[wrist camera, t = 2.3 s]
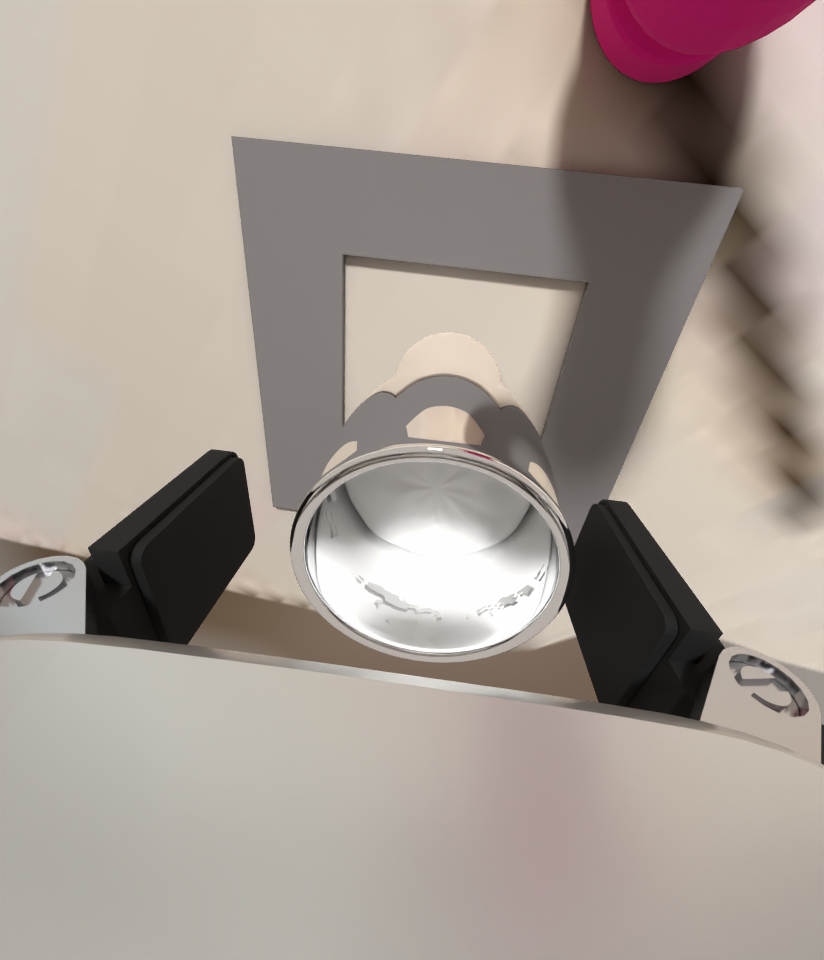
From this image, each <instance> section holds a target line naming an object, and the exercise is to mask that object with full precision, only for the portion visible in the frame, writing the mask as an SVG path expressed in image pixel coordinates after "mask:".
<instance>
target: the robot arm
mask: <svg viewBox="0 0 824 960" xmlns="http://www.w3.org/2000/svg"><path fill="white" fill-rule="evenodd" d="M254 542H255V532H254V526H253V519H252V513H251V506H250V499H249V493H248V486H247V480H246V473H245V467H244V462H243V460H242V459H241V458H238V456H237V454H236V453H234V452H229V451H222V450H210V451H208V452H207V453H206V454H204V455H203V456H202V457H201V458H199V459H198V460H197V461H196V462H194V463H193V464H192V465H191V466H189V467H188V468H187V469H186V470H184V471H183V472H182V473H181V474H179V475H178V476H177V477H176V478H174V479H173V480H172V481H171V482H169V483H168V484H167V485H166V486H164V487H163V488H162V489H161V490H159V491H158V492H157V493H156V494H154V495H153V496H152V497H151V498H149V499H148V500H147V501H146V502H145V503H143V504H142V505H141V506H140V507H138V508H137V509H136V510H135V511H133V512H132V513H131V514H130V515H128V516H127V517H126V518H125V519H123V520H122V521H121V522H120V523H118V524H117V525H116V526H115V527H113V528H112V529H111V530H110V531H108V532H107V533H106V534H105V535H103V536H102V537H101V538H100V539H98V540H97V541H96V542H95V543H93V544H92V545H91V546H90V547H88V549H89V551H90V554H91V556H90V557H89V558H88V559H86V560H85V561H84V562H82V561H81V560H80V559H78V558H75V557H70V556H52V557H47V558H42V559H38V560H35V561H31V562H29V563H26V564H23V565H21V566H18V567H16V568H14V569H12V570H10V571H8V572H7V573H5V574H4V575H2V576H0V960H824V725H822V724H821V712H820V708H819V704H818V702H817V701H816V699H815V697H814V696H813V694H812V693H811V691H810V690H809V689H808V688H807V687H806V686H805V685H804V684H803V682H801V680H800V679H799V678H798V677H796V676H795V675H794V674H793V673H791V672H790V671H789V670H788V669H787V668H785V667H784V666H782V665H781V664H779V663H778V662H776V661H774V660H773V659H771V658H769V657H767V656H765V655H763V654H761V653H759V652H757V651H754V650H750V649H747V648H743V647H729V648H726V649H725V648H724V646H723V645H722V643H721V642H720V640H719V638H720V636H721V635H722V634H723V633H722V631H721V630H720V629H719V627H718V626H717V625H716V623H715V622H714V620H713V619H712V618H711V616H710V615H709V614H708V612H707V611H706V610H705V608H704V607H703V605H702V604H701V603H700V601H699V600H698V599H697V597H696V596H695V594H694V593H693V592H692V590H691V589H690V588H689V586H688V585H687V583H686V582H685V581H684V579H683V578H682V577H681V575H680V574H679V573H678V571H677V570H676V568H675V567H674V566H673V564H672V563H671V562H670V560H669V559H668V557H667V556H666V555H665V553H664V552H663V551H662V549H661V548H660V546H659V545H658V544H657V542H656V541H655V540H654V538H653V537H652V536H651V534H650V533H649V531H648V530H647V529H646V527H645V526H644V525H643V523H642V522H641V520H640V519H639V518H638V516H637V515H636V514H635V512H634V511H633V509H632V508H631V507H630V505H629V504H628V503H627V502H622V501H614V500H606V499H603V500H601V501H600V502H599V503H598V504H593V505H592V506H591V508H590V510H589V512H588V515H587V517H586V519H585V522H584V524H583V526H582V529H581V531H580V534H579V536H578V538H577V541H576V543H575V546H574V547H575V555H576V569H575V577H574V582H573V585H572V588H571V591H570V594H569V596H568V598H567V600H566V602H565V604H566V607H567V610H568V613H569V615H570V618H571V621H572V624H573V627H574V630H575V633H576V636H577V639H578V642H579V645H580V648H581V651H582V654H583V657H584V660H585V663H586V666H587V669H588V672H589V675H590V678H591V681H592V684H593V687H594V690H595V693H596V696H597V699H598V702H599V703H597V702H591V701H584V700H578V699H571V698H565V697H557V696H550V695H544V694H537V693H530V692H523V691H516V690H509V689H503V688H495V687H489V686H482V685H475V684H468V683H462V682H454V681H447V680H440V679H433V678H426V677H419V676H412V675H404V674H398V673H391V672H383V671H376V670H369V669H362V668H355V667H348V666H340V665H333V664H326V663H318V662H312V661H304V660H297V659H289V658H282V657H275V656H267V655H260V654H252V653H245V652H237V651H230V650H222V649H215V648H207V647H200V646H193V645H187V644H188V643H189V641H190V640H191V639H192V637H193V636H194V634H195V632H196V631H197V630H198V628H199V627H200V625H201V624H202V622H203V621H204V619H205V618H206V616H207V615H208V613H209V612H210V610H211V609H212V608H213V606H214V605H215V603H216V602H217V600H218V599H219V597H220V596H221V594H222V593H223V591H224V590H225V588H226V587H227V585H228V584H229V582H230V581H231V579H232V578H233V577H234V575H235V574H236V572H237V571H238V569H239V568H240V566H241V565H242V563H243V562H244V560H245V559H246V557H247V556H248V554H249V553H250V551H251V550H252V548H253V546H254Z"/></svg>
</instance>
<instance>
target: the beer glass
mask: <svg viewBox="0 0 824 960" xmlns="http://www.w3.org/2000/svg"><path fill="white" fill-rule="evenodd" d="M290 556H291V562H292V567H293V570H294V573H295V576H296V579H297V581H298V583H299V586H300V588H301V589H302V591H303V593H304V595H305V596H306V598H307V599H308V600H309V602H310V603H311V605H312V606H313V607H314V608H315V609H316V610H317V612H318V613H319V614H320V615H321V616H322V617H323V618H324V619H325V620H327V621H328V622H329V623H330V624H331V625H332V626H334V627H335V628H336V629H338V630H339V631H340V632H342V633H343V634H345V635H346V636H348V637H350V638H351V639H353V640H355V641H357V642H359V643H361V644H363V645H365V646H367V647H370V648H372V649H374V650H377V651H379V652H382V653H385V654H388V655H392V656H395V657H400V658H404V659H409V660H415V661H423V662H434V663H435V662H436V663H453V662H465V661H472V660H478V659H483V658H487V657H491V656H494V655H497V654H500V653H503V652H506V651H508V650H511V649H513V648H515V647H517V646H519V645H521V644H523V643H525V642H526V641H528V640H530V639H531V638H533V637H534V636H536V635H537V634H538V633H539V632H541V631H542V630H543V629H544V628H545V627H546V626H547V625H548V624H549V623H550V622H551V621H552V620H553V619H554V618H555V617H556V616H557V614H558V613H559V612H560V610H561V609H562V607H563V605H564V604H565V602H566V600H567V598H568V596H569V594H570V591H571V588H572V585H573V582H574V577H575V569H576V555H575V547H574V542H573V538H572V535H571V532H570V530H569V527H568V525H567V523H566V521H565V517H564V513H563V509H562V505H561V501H560V496H559V493H558V489H557V485H556V482H555V478H554V475H553V471H552V468H551V465H550V462H549V459H548V457H547V454H546V451H545V448H544V446H543V443H542V441H541V439H540V436H539V434H538V433H537V431H536V429H535V427H534V425H533V423H532V422H531V420H530V418H529V416H528V414H527V413H526V411H525V410H524V408H523V407H522V406H521V404H520V403H519V402H518V401H517V400H516V399H515V398H514V397H513V395H512V394H511V393H510V392H509V391H508V390H507V389H506V388H505V387H504V386H503V385H502V384H501V376H500V371H499V368H498V365H497V363H496V361H495V359H494V357H493V356H492V354H491V353H490V352H489V350H488V349H487V348H486V347H485V346H484V345H483V344H482V343H480V342H479V341H477V340H476V339H474V338H472V337H470V336H468V335H465V334H461V333H456V332H440V333H435V334H432V335H429V336H426V337H424V338H422V339H420V340H419V341H417V342H416V343H414V344H413V345H412V346H411V347H410V348H409V349H408V350H407V351H406V352H405V354H404V355H403V356H402V358H401V360H400V362H399V364H398V366H397V369H396V372H395V375H394V376H392V377H391V378H389V379H388V380H387V381H385V382H384V383H382V384H381V385H380V386H378V387H377V388H376V389H375V390H373V391H372V392H371V393H370V394H369V395H368V396H367V397H366V398H365V399H364V400H363V401H362V403H361V404H360V405H359V406H358V407H357V409H356V410H355V411H354V412H353V413H352V415H351V416H350V417H349V419H348V420H347V421H346V423H345V424H344V426H343V428H342V429H341V431H340V433H339V434H338V436H337V437H336V439H335V441H334V442H333V444H332V446H331V448H330V450H329V452H328V454H327V456H326V458H325V460H324V462H323V464H322V466H321V468H320V470H319V472H318V474H317V476H316V478H315V481H314V483H313V485H312V487H311V489H310V491H309V493H308V494H307V496H306V497H305V499H304V500H303V502H302V503H301V505H300V507H299V509H298V511H297V513H296V516H295V519H294V522H293V525H292V530H291V536H290Z"/></svg>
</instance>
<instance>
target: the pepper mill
mask: <svg viewBox="0 0 824 960" xmlns="http://www.w3.org/2000/svg"><path fill="white" fill-rule="evenodd" d="M814 1H815V0H590V7H591V13H592V20H593V26H594V29H595V33H596V36H597V39H598V41H599V44H600V47H601V48H602V50H603V52H604V53H605V55H606V57H607V58H608V60H609V61H610V62H611V63H612V64H613V65H614V66H615V67H616V68H617V69H618V70H619V71H620V72H621V73H623V74H625V75H627V76H628V77H630V78H632V79H634V80H638V81H641V82H648V83H659V82H668V81H672V80H675V79H679V78H681V77H684V76H686V75H689V74H691V73H692V72H694V71H696V70H698V69H700V68H701V67H703V66H704V65H706V64H707V63H708V62H710V61H711V60H712V59H714V58H715V57H716V56H718V55H719V54H720V53H722V52H726V51H730V50H734V49H737V48H740V47H742V46H744V45H746V44H749V43H751V42H753V41H755V40H758V39H760V38H762V37H764V36H766V35H768V34H769V33H771V32H773V31H774V30H776V29H778V28H779V27H781V26H782V25H784V24H786V23H787V22H789V21H790V20H792V19H793V18H794V17H795V16H797V15H798V14H799V13H800V12H802V11H803V10H804V9H805V8H807V7H808V6H809V5H810V4H812V3H813V2H814Z"/></svg>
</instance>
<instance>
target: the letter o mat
mask: <svg viewBox="0 0 824 960" xmlns="http://www.w3.org/2000/svg"><path fill="white" fill-rule="evenodd" d="M231 137H232V146H233V154H234V163H235V172H236V181H237V190H238V199H239V208H240V217H241V226H242V235H243V243H244V252H245V261H246V270H247V279H248V288H249V297H250V306H251V315H252V323H253V332H254V341H255V350H256V359H257V368H258V377H259V386H260V395H261V404H262V412H263V421H264V430H265V439H266V448H267V457H268V466H269V475H270V484H271V493H272V501H273V507H278V508H285V509H291V510H298V509H299V507H300V505H301V503H302V502H303V500H304V499H305V497H306V496H307V494H308V493H309V491H310V489H311V487H312V485H313V483H314V481H315V478H316V476H317V474H318V472H319V470H320V468H321V466H322V464H323V462H324V460H325V458H326V456H327V454H328V452H329V450H330V448H331V446H332V444H333V442H334V441H335V439H336V437H337V436H338V434H339V433H340V431H341V429H342V428H343V426H344V261H345V255H353V256H362V257H370V258H379V259H388V260H397V261H405V262H414V263H423V264H431V265H440V266H449V267H458V268H466V269H475V270H484V271H492V272H501V273H510V274H519V275H527V276H536V277H545V278H553V279H562V280H571V281H580V282H587V286H586V289H585V292H584V296H583V299H582V302H581V306H580V309H579V312H578V316H577V319H576V322H575V326H574V329H573V332H572V336H571V339H570V342H569V346H568V349H567V352H566V356H565V359H564V362H563V366H562V369H561V372H560V376H559V379H558V382H557V386H556V389H555V392H554V396H553V399H552V402H551V406H550V409H549V412H548V416H547V419H546V422H545V426H544V429H543V432H542V436H541V441H542V443H543V446H544V448H545V451H546V454H547V457H548V459H549V462H550V465H551V468H552V471H553V475H554V478H555V482H556V485H557V489H558V493H559V496H560V501H561V505H562V509H563V513H564V517H565V521H566V523H567V525H568V527H569V530H570V532H571V535H572V538H573V542H574V546H575V543H576V541H577V538H578V536H579V534H580V531H581V529H582V526H583V524H584V522H585V519H586V517H587V515H588V512H589V510H590V508H591V506H592V505H593V504H598V503H599V502H600V501H601V500H603V499H606V500H608V498H609V495H610V493H611V491H612V488H613V486H614V484H615V482H616V479H617V477H618V475H619V473H620V470H621V468H622V466H623V463H624V461H625V459H626V457H627V454H628V452H629V450H630V447H631V445H632V443H633V441H634V438H635V436H636V434H637V432H638V429H639V427H640V425H641V422H642V420H643V418H644V416H645V413H646V411H647V409H648V407H649V404H650V402H651V400H652V397H653V395H654V393H655V391H656V388H657V386H658V384H659V382H660V379H661V377H662V375H663V372H664V370H665V368H666V366H667V363H668V361H669V359H670V357H671V354H672V352H673V350H674V347H675V345H676V343H677V341H678V338H679V336H680V334H681V331H682V329H683V327H684V325H685V322H686V320H687V318H688V316H689V313H690V311H691V309H692V306H693V304H694V302H695V300H696V297H697V295H698V293H699V291H700V288H701V286H702V284H703V281H704V279H705V277H706V275H707V272H708V270H709V268H710V266H711V263H712V261H713V259H714V256H715V254H716V252H717V250H718V247H719V245H720V243H721V241H722V238H723V236H724V234H725V231H726V229H727V227H728V225H729V222H730V220H731V218H732V215H733V213H734V211H735V209H736V206H737V204H738V202H739V200H740V197H741V195H742V193H743V190H744V188H735V187H725V186H716V185H706V184H696V183H686V182H676V181H666V180H657V179H647V178H637V177H627V176H617V175H607V174H598V173H588V172H578V171H568V170H558V169H548V168H539V167H529V166H519V165H509V164H499V163H490V162H480V161H470V160H460V159H450V158H440V157H431V156H421V155H411V154H401V153H391V152H381V151H372V150H362V149H352V148H342V147H332V146H322V145H313V144H303V143H293V142H283V141H273V140H263V139H254V138H244V137H234V136H231Z"/></svg>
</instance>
